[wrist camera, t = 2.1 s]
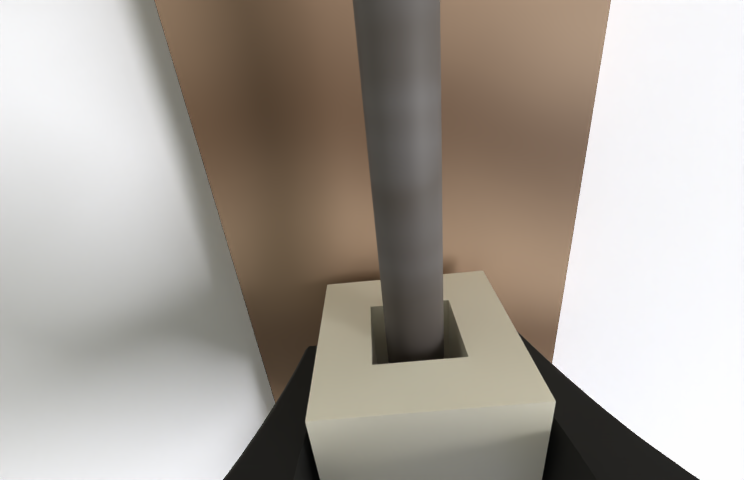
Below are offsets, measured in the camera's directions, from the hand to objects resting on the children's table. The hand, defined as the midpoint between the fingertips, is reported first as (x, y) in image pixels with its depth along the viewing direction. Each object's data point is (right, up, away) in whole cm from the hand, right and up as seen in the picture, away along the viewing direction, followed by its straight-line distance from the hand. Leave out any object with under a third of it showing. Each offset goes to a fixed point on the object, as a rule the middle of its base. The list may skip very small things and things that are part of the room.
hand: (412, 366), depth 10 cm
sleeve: (0, 0, +1) cm, 1 cm away
